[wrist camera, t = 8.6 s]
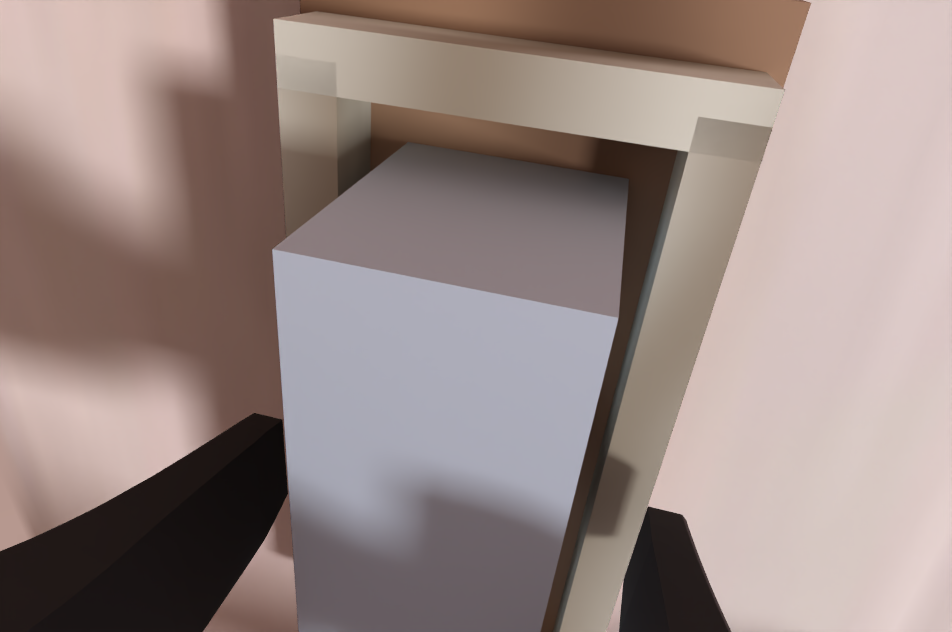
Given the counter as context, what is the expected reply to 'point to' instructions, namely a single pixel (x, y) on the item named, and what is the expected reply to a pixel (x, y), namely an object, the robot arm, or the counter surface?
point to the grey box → (443, 386)
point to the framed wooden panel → (573, 147)
